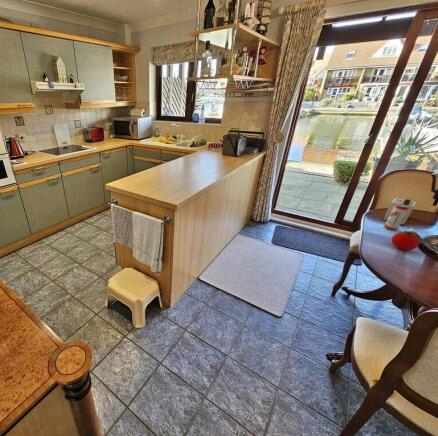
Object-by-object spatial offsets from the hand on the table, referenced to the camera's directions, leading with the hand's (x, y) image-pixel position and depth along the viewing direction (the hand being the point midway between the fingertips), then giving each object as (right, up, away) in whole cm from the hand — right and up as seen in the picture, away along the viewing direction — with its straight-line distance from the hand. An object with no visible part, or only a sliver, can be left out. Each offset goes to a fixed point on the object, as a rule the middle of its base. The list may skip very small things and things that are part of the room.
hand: (434, 204), depth 136 cm
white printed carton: (+6, -9, +27) cm, 29 cm away
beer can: (-8, -14, +17) cm, 23 cm away
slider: (+4, +2, +18) cm, 19 cm away
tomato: (-22, -24, -3) cm, 32 cm away
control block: (-10, -20, +4) cm, 23 cm away
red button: (-10, -17, +3) cm, 20 cm away
